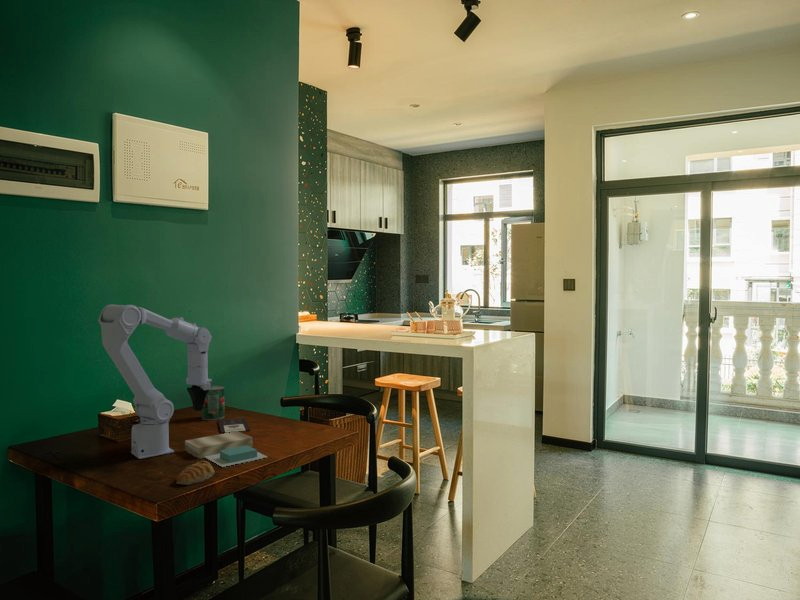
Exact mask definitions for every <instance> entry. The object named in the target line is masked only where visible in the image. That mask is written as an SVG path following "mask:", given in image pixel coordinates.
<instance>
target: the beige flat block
mask: <svg viewBox="0 0 800 600" xmlns="http://www.w3.org/2000/svg"><path fill="white" fill-rule="evenodd" d="M253 441H254V440H253V437H252V436H250V435H247V434H245V433H244V432H238V431H235V432H230V433H224V434H221V433H219V434H214V435H209V436H202V437H199V438H198V437H197V438H191V439H187V440H184V449H185V450H184V451H185V452H186V451H187V452H186V453H188V454H190V455H191V454H192V456H193V457H195V458H196V457H197V458H196V459H199V458H200V459H205V458H204V456H209V455H214V454H219V453H220V451H221V450H226V449H231V448H236V447H241V446H246V445H248V446H250V447H253V448H254V446H253V445H254V443H253ZM200 459H199V460H200Z"/></svg>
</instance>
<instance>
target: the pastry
mask: <svg viewBox="0 0 800 600" xmlns="http://www.w3.org/2000/svg"><path fill="white" fill-rule="evenodd" d="M215 474H216V473H215V470H214V468H213V466H212V465H211V463H210V461H208V460H207V461H206V460H201V461H196V463H193V464H191V465H187V466H186V467H185V468H184V469H183V470H182V471H181V472H179V474H178V475H177V476H176V484H177V485H185V486H191V485H194V484H197V483H201V482H203V481H206V480H208V479H211V478H213V476H214V475H215ZM210 477H211V478H210ZM205 479H206V480H205Z"/></svg>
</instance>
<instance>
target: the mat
mask: <svg viewBox="0 0 800 600" xmlns="http://www.w3.org/2000/svg"><path fill="white" fill-rule="evenodd" d="M205 458H206V459H205ZM263 458H266V459H268V458H269V457H268V456H267V455H265V454H264V453H261V452H259V451H257V457H255V458H251V459H246V460H242V461H237V462H232V463H228V462H226V461H224V460H223V459H221V458H220V453H219V454H214V455H209V456H204V458H203V459H205V460H207V459H208V460H207V461H209V460H210V461H209V462H211V461H212V462H214V463H216V464H217V465H216V464H215V465H216V466H218V465H219V466H221V467H225V468H227V467H226V466H230V467H232V466H231V465H234V466H236V465H235V464H239V465H242V464H241V463H243V464H247V463H246V462H248V463H252V462H256V461H255V460H257V461H260V460H259V459H261V460H264V459H263ZM251 461H252V462H251ZM212 462H211V463H212ZM214 463H213V464H214ZM219 466H218V467H219ZM221 467H220V468H221Z"/></svg>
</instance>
